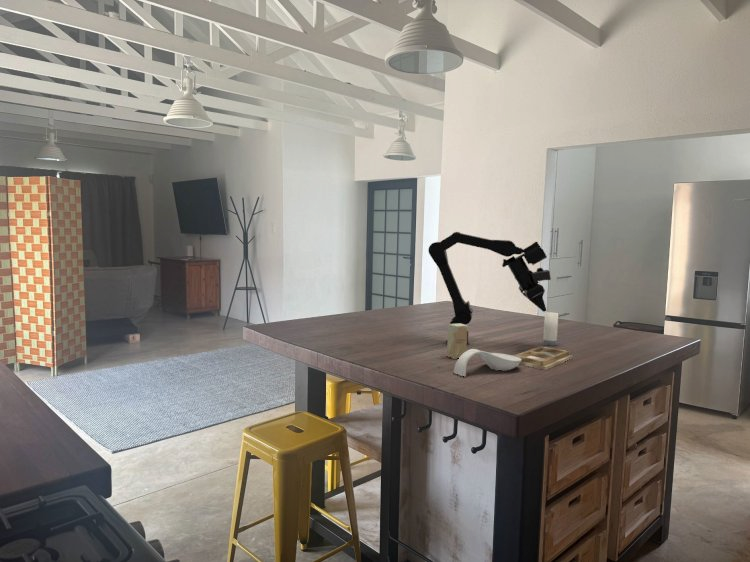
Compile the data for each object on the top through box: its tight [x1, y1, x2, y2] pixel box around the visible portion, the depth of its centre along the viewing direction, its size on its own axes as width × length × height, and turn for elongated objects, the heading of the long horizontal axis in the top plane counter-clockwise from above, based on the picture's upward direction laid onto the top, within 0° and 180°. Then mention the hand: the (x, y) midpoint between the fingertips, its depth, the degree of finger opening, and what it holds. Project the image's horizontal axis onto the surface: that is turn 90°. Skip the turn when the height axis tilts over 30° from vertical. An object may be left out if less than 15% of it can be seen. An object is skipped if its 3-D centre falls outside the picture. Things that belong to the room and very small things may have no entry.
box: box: [446, 323, 469, 360], centre depth 175 cm, size 5×4×11 cm
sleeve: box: [542, 311, 559, 347], centre depth 198 cm, size 5×5×12 cm
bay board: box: [512, 345, 573, 371], centre depth 175 cm, size 14×21×2 cm, turn 138°
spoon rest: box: [453, 348, 521, 378], centre depth 160 cm, size 24×12×7 cm, turn 124°
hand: (542, 309), depth 190 cm, fingers open, 9 cm apart
